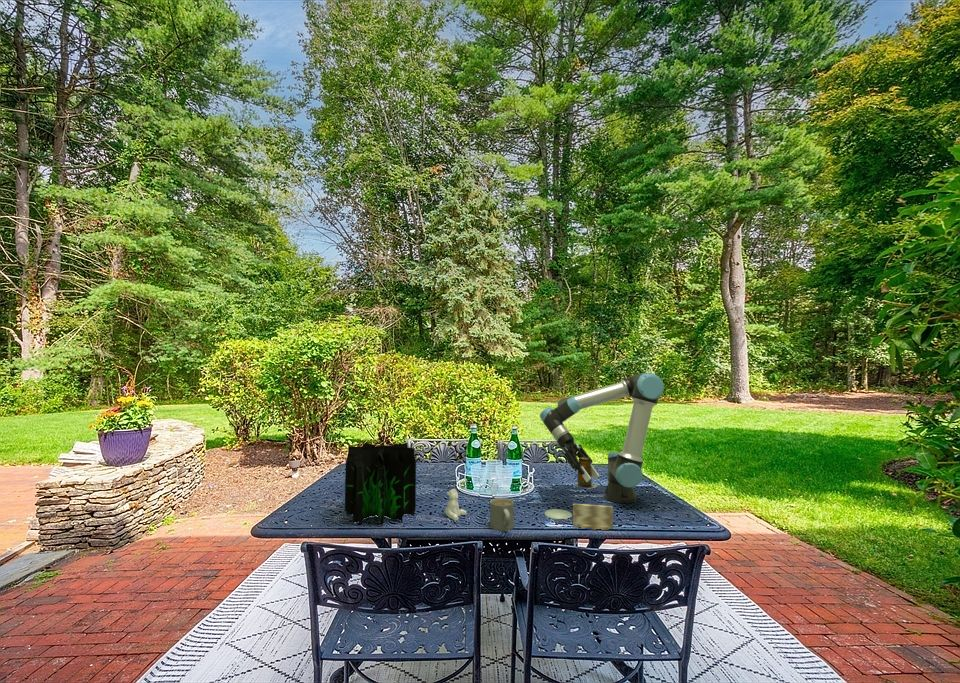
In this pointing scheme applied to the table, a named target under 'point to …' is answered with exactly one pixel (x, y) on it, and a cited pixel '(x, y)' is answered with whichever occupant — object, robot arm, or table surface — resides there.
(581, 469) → the robot arm
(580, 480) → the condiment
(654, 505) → the table surface
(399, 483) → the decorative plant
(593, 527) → the birch screen
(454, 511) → the white creature statuette
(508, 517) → the coffee mug
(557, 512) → the pad
